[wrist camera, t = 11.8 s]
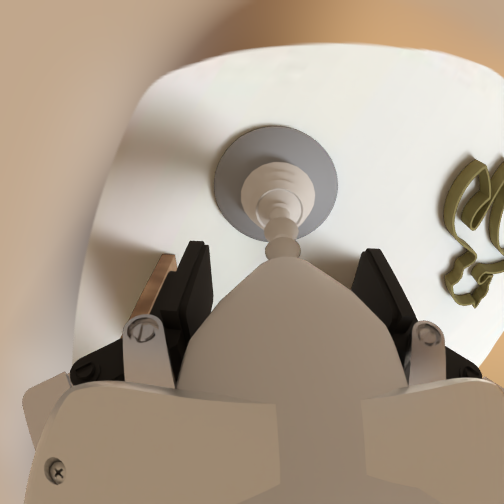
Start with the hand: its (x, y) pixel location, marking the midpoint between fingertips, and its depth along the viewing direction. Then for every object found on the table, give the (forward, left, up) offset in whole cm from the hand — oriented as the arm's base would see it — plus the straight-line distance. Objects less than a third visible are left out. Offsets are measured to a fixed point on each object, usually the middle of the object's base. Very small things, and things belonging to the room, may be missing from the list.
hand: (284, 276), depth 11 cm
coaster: (0, 0, -10) cm, 10 cm away
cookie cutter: (-22, +3, -11) cm, 25 cm away
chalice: (0, 0, -9) cm, 9 cm away
